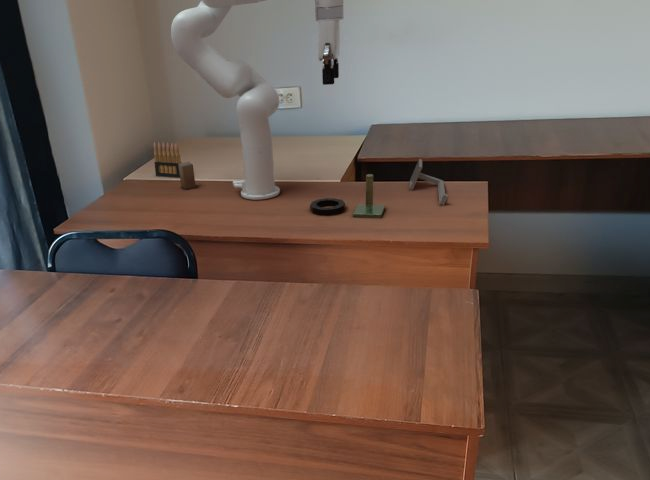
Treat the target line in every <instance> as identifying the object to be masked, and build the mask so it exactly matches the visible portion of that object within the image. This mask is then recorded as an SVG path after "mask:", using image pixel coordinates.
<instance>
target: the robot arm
mask: <svg viewBox="0 0 650 480" xmlns="http://www.w3.org/2000/svg"><path fill="white" fill-rule="evenodd" d="M264 1H266V0H200V2H199V3H198V5H197V6H195V7H191V8H187V9H186V8H185V10H182V11H180V12H178V13H177V14H176V15H175V16H174V18H173V20H172V22H171V26H170V27H171V28H170V37H171V38H170V39H171V42H172V46H173V47H174V50H175V52H176V53H177V55H178V56H179V57H180V58H181V60H182V61H183V62H185V64H187V65H188V66H189V67H190V68H191V69H192V70H194V72H196V73H197V74H198V75H199V77H201V79H203V80H204V81H205V82H206V83H207V84H208V85H209V86H210V87H211V88H212V89H213V90H214V91H215V92H216V93H217V94H218V95H219V96H220V97H223V98H225V99H231V98H234V97H237V96H238V97H239V99H238V100H237V103H236V107H235V108H236V109H235V110H236V118H237V119H236V120H237V123H238V127H239V133H240V134H239V135H240V144H241V152H242V153H241V154H242V166H243V177H244V179H242V180H238V179H237V180H236V179H234V180H232V186H233V188H234V189H240V196H241V197H242V198H243V199H247V200H252V201H253V200H255V201H257V200H258V201H260V200H269V199H272V198H275V197H277V196H279V194H280V193H281V189H280V187H279V186H278V185H276V184H275V183H276V182H275V167H274V151H273V137H272V129H271V125H270V120H269V117H271V116H273V115H274V114H275V113H276V111H278V108H279V107H280V96H279V94H278V92H277V90H276V89H275V88H274V86H273V85H272V84H271V83H270V82H269V81H267V79H265V77H263V76H262V75H261V74H260V73H259V72H258V71H257V70H256V69H255V68H254V67H253V66H252V65H251V64H249V63H247V62H245V61H243V60H240V59H235V60H231V61H228V60H227V59H226V58H225V57H223V55H221V54H220V52H218V51H217V50H216V48H214V47H213V46H211V45H209V44H208V43H206V42H205V41H204V40H203V39H204V38H208V37H210V36H212V35H213V34H214V33H215V32H216V31H217V29H218V28H219V26H221V24H222V23H223V20H224V19H225V18H226V16H227V15H228V13H229V12H230V10H231V9H232V7H233V6H241V5H249V4H257V3H260V2H264ZM314 7H315V8H314V9H315V11H314V12H315V22H318V37H317V40H318V41H317V42H318V43H317V44H318V45H317V46H318V47H317V48H318V51H317V52H318V55H317V58H318V59H317V60H318V61H319V62H321V61H322V69H321V71H322V75H321V76H322V85H323V86H325V85H326V86H327V85H328V86H329V85H335V79H339V76H340V68H339V67H340V66H339V63H340V62H339V56H340V52H341V51H340V50H341V49H340V48H341V46H340V45H341V37H340V34H341V33H340V32H341V30H340V27H341V25H340V21H341V20H344V17H345V16H344V0H314Z"/></svg>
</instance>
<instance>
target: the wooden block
mask: <svg viewBox="0 0 650 480" xmlns="http://www.w3.org/2000/svg"><path fill="white" fill-rule="evenodd" d="M178 166H179V174H180V178H179V180H180V187H181V188H182V189H184V190H188V189H189V190H190V189H195V188H196V178H195V171H194V164H193V163H192V162H190V161H185V162H182V163H180V164H178Z"/></svg>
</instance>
